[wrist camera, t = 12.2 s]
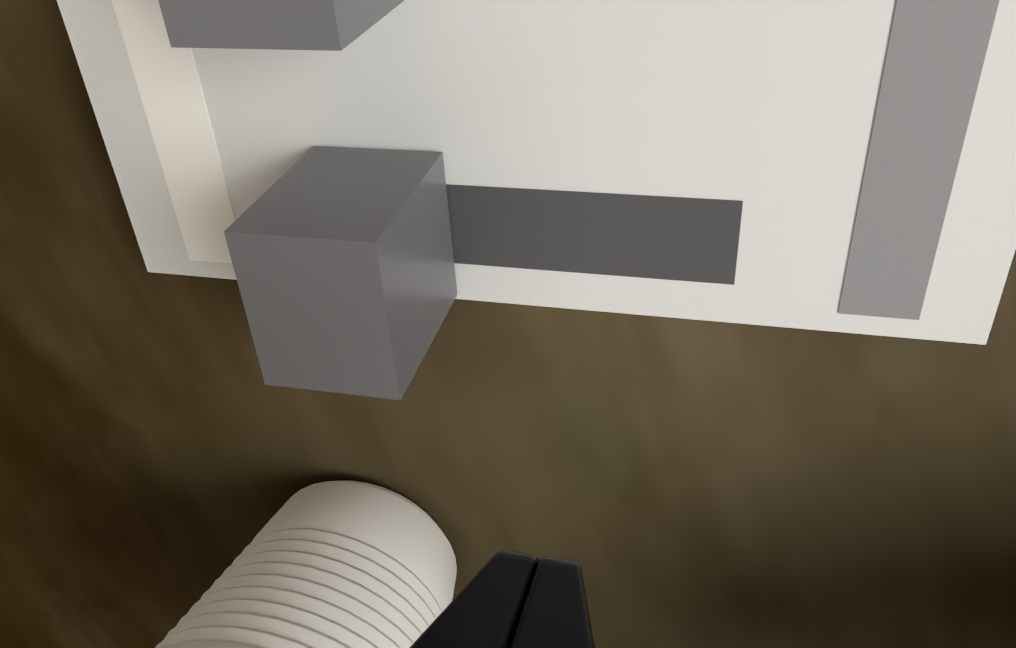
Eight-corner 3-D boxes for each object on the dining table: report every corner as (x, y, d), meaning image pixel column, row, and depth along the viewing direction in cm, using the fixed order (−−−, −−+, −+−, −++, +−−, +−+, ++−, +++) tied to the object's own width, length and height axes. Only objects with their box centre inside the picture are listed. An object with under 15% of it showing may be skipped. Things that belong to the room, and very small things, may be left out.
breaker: (442, 152, 19) (374, 242, 16) (457, 294, 21) (400, 400, 18) (313, 146, 19) (223, 231, 16) (340, 284, 21) (264, 384, 18)
